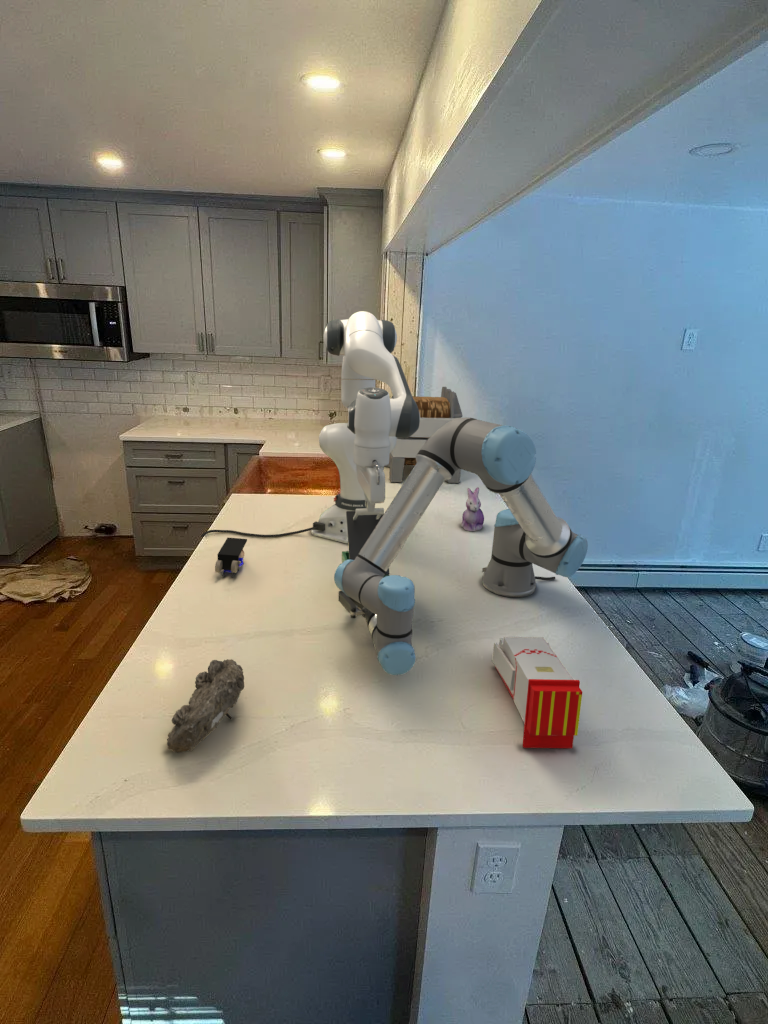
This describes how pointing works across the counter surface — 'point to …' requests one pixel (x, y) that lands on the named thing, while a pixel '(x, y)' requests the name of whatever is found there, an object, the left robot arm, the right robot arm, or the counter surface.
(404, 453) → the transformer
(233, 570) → the black toy car
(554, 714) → the toy
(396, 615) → the right robot arm
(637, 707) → the counter surface
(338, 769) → the counter surface
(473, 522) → the figurine
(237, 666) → the fossil
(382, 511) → the lid
